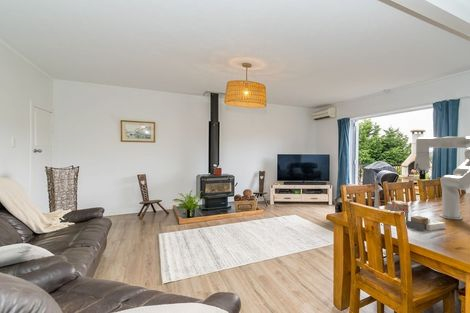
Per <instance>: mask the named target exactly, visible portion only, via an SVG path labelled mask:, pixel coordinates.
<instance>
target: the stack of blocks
mask: <svg viewBox="0 0 470 313" xmlns="http://www.w3.org/2000/svg"><path fill="white" fill-rule="evenodd" d="M409 205H410V204H408V203H406V202H405V201H402V200H391V201H387V202H386V211H387V210H390V211H404V212H405V217H406V220H409Z"/></svg>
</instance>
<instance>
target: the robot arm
mask: <svg viewBox="0 0 470 313" xmlns="http://www.w3.org/2000/svg"><path fill="white" fill-rule="evenodd" d="M415 145H416V146H415V148H416V149H415V158H414V166H413V167H414V170H416V172H418V177H419V178H418V179H419V180H426V174H427V172H429V170H430V168H431V161H430V149H431V148H432V149H433V148H434V149H435V148H438V149H465V148H466V149H465V150H464V161H463V162H462V163H461V164H460V165H459V166H458V167H457V166H456V168H455V169H454V170H453V171H452V175H451V174H446V175H445V174H444V175H443V176H442V177H441V178H440V185H441V190H442V191H441V192H442V193H441V195H442V196H441V213H439V217H441V218H444V219H448V220H463V216H461V215H463V212H462V211H460V192H459V190H461V191H462V190H463V191H466V190H469V189H470V135H468V136H444V137H437V136H435V137H418V138H416V141H415Z"/></svg>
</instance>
